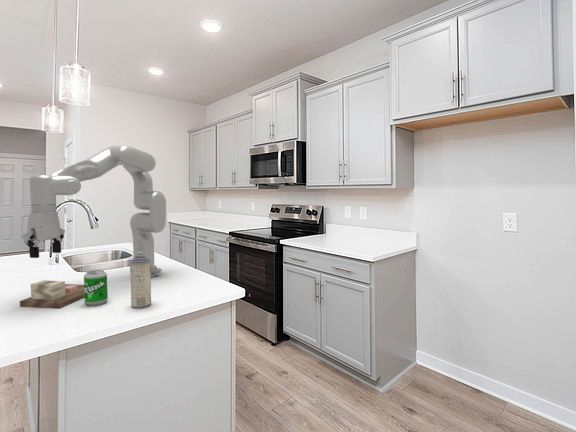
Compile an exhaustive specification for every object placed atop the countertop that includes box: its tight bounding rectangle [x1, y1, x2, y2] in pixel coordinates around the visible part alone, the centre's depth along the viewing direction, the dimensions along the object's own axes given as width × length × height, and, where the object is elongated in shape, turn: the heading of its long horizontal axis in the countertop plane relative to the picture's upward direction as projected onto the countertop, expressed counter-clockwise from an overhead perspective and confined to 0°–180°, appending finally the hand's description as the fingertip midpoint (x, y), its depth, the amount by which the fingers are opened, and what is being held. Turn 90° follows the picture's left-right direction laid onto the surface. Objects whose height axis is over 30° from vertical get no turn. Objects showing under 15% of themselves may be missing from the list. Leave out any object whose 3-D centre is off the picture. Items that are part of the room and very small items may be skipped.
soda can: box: [83, 269, 109, 307], centre depth 123 cm, size 8×8×12 cm
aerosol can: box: [129, 252, 152, 310], centre depth 121 cm, size 7×7×20 cm
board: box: [19, 283, 85, 309], centre depth 129 cm, size 16×22×2 cm
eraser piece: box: [65, 285, 78, 292], centre depth 132 cm, size 4×4×2 cm
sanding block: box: [30, 279, 66, 301], centre depth 122 cm, size 9×6×6 cm, turn 84°
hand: (46, 255), depth 121 cm, fingers open, 9 cm apart
